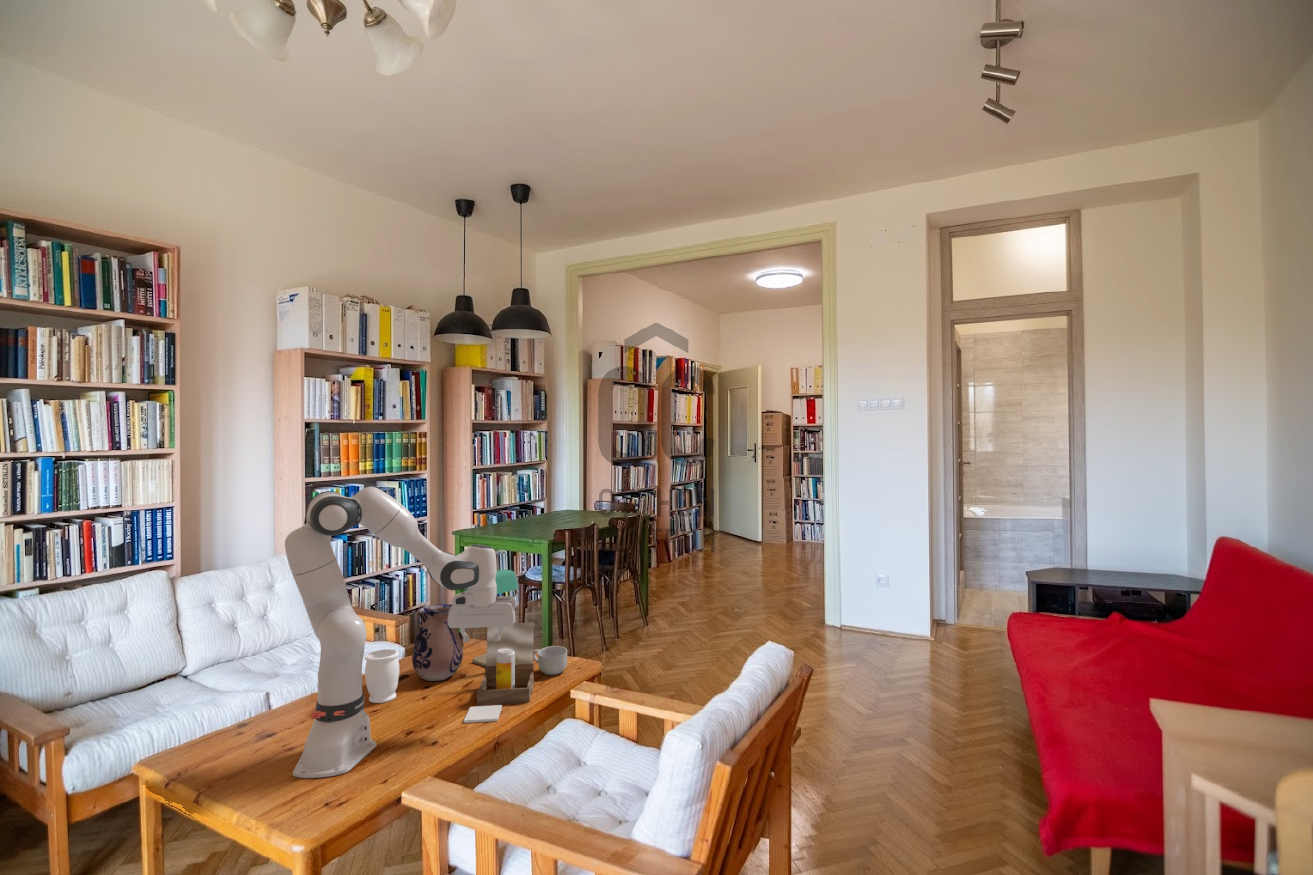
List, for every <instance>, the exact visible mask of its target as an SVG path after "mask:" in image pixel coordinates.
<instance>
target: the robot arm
mask: <svg viewBox="0 0 1313 875" xmlns="http://www.w3.org/2000/svg"><path fill="white" fill-rule="evenodd" d="M303 524H304V525H303V526H301V527H298V528H297V529H295V530H293V531H291V532H290V533H289V534H287V536H286V537H285V540H284V550H285V555H286V559H287V562H288V566H289V568H290V569H289V570H290V571H291V574H292V576H293V579H294V583H295V584H296V587H297V589H298V592H299V594H300V596H301V599H302V602H303V605H304V607H305V611H306V614H307V616H308V619H309V621H310V624H311V627H312V629H313V633H314V635H315V637H316V638H317V640H319V643H320V656H319V658H320V659H319V665H318V671H317V701H316V705H315V709H314V710H313V711H312V712H311V720H313V722H312V725H311V728H310V730H309V732H308V733H309V734H308V735H307V738H306V740H305V744H304V747H303V752H302V753H301V756H300V758H299V760H298V762H297V763H296V765H295V767H294V768H293V771H292V776H293V777H295V778H300V779H315V778H316V779H317V778H318V779H319V778H327V777H333V776H337V775H343V774H346V773H348V772H349V771H351V770H352V769H353V768H354V767H355V766H356V765H357V764H358V763H360V762H361V761H362V760H363V759H364V758H365V757H366V756H368V754H370V753H371V752H372V751H373V750H374V749H375V748H377V741H376V740H373V739H372V733H371V719H370V718H371V717H370V716H369V714H368V713H366V711H365V710H364V708H365V695H364V693H363V661H364V660H363V659H364V656H365V646H366V641H367V628H366V624H365V622H364V620H363V618H361V617H360V616H359V615H358V614H357V613H356V611H355V610H354V608H353V606H352V605H353V604H352V602H351V599H350V596H349V593H348V589H347V588H348V587H347V583H346V580H345V578H344V575H343V572H342V570H341V567H340V565H339V562H338V560H337V558H336V554H335V552H334V551H333V548H332V543H331V541H332V540H331V539H332V536H334V537H335V536H339V535H341V534H343V533H345V532H347V531H348V530H350V529H352V528H354V527H356V526H357V525H361V526H363V527H364V528H366V529H367V530H368V531H369V532H371V534H372V535H374V536H376V537H377V538H378V539H379V540H381V541H382V542H384V543H386V544H388V545H390V546H392V547H396V548H401V549H403V550H404V551H406V552H408V553H409V554H411V556H412V557H414V558H415V559H416V560H418V562H420V563H421V564H422V565H423V566H424V567H425V569H426V570H427V572H428V576H429V578H430V579H431V580H432V581H433V582H434V583H436V584H438V585H440V586H441V587H443V588H445V590H448V591H459V590H464V589H465V588H467V591H465V592H464V591H462V592H459V593H457V594H455V595H454V596H453V598H452V599H451V605H452V607H451V608H450V610H449V615H448V626H449V627H450V628H457V629H459V632H460V633H461V634H462V636H463V643H469V642H470V634H467V633H466V632H465V629H466V628H468V629H470V628H473V629H474V628H488V627H498V630H500V631H499V633H498V634H495V641H500V634H501V632H502V631H503V629H504V627H508V626H513V624H514V623H516V613H515V609H516V608H517V601H516V598H513V597H514V596H513V597H512V596H511V595H506V596H505V595H498V594H497V584H496V580H495V577H496V573H497V571H498V570H497V569H498V568H497V566H498V564H497V554H496V551H495V549H494V548H493V547H492V546H489V545H486V544H479V543H474V544H471V545H470V546H469V547H467V548H466V549H465V550H463V551H462V552H460V553H459V554H457V555H456V554H453V553H451V552H448V551H443V550H441V549H439V548H438V547H437V546H435V545H434V543H432V542H431V541H429V540H428V538H426V537H425V536H424V535H423V534H422V533H421V531H420V530H419V524H418V521H417V519H416V518H415V517H414V515H413V514H412V512H410V511H409V510H408V509H407V508H406V507H405V506H404V505H403V504H402V503H400V502H399V501H398V500H397V499H395V498H394V497H393V496H391V495H390V494H388V493H387V492H385V491H383V490H381V489H379V488H377V486H376V487H375V486H367V487H364V488H362V489H361V490H358V492H357V493H355V495H353V496H350V497H347V496H345V495H343V494H341V493H339V492H338V491H334V490H333V491H332V490H326V491H325V490H324V491H321V492H319V493H317V494H316V495H314V496H313V497H312V498H311V500H310V501H309V502H308V505H307V507H306V513H305V516H304V522H303ZM466 630H467V629H466Z"/></svg>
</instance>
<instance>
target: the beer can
mask: <svg viewBox="0 0 1313 875" xmlns="http://www.w3.org/2000/svg"><path fill="white" fill-rule="evenodd" d="M515 686H516V685H515V652H514V650H513V649H512V648H501V649H499V650H498V651H497V654H496V686H495V689H513V688H516V687H515Z"/></svg>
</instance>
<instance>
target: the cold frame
mask: <svg viewBox="0 0 1313 875" xmlns="http://www.w3.org/2000/svg"><path fill="white" fill-rule="evenodd" d="M486 628H487V634H486V652H485V654H486V666H485V667H484V676H483V678H482V680H481V682H480V684H479V686H478V688H477V691H476V694H477V697H476V703H477V704H476V705H477V706H488V705H502V704H503V705H505V704H519V703H521V704H522V703H530V700H531V697H532V693H533V688H534V685H535V677H534V676H535V674H534V671H535V670H534V669H535V668H534V666H535V665H534V662H533V661H534V659H533V651H534V622H515V623H514V624H513V626H508V627H504V629H503V631H502V632H501V634H500V641H495V634H498V633H499V631H500V630H498V627H486ZM501 648H512V649H513V650H514V652H515V686H526V687H517V688H516V687H515V688H513V689H496V654H497V651H498V650H499V649H501ZM493 687H495V689H488V688H493Z"/></svg>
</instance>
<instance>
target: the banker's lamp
mask: <svg viewBox="0 0 1313 875" xmlns="http://www.w3.org/2000/svg"><path fill="white" fill-rule="evenodd" d="M495 580H496V584H497V595H500V594H503V593H507V592H511V591H513V593H514V594H513V598H514V599H516V596H517V595H518V589H519V588H518V580H517V575H516V572H515V571H513V570H510V569H499V570H497V573H496V577H495ZM465 591H467V588H464V589H463V592H465ZM472 664H475V665H478V666H479V665H480V666H482V667H484V668H485V666H486V653H484V654H481V655H478V656H477V655H476V656H475V657H472Z"/></svg>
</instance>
